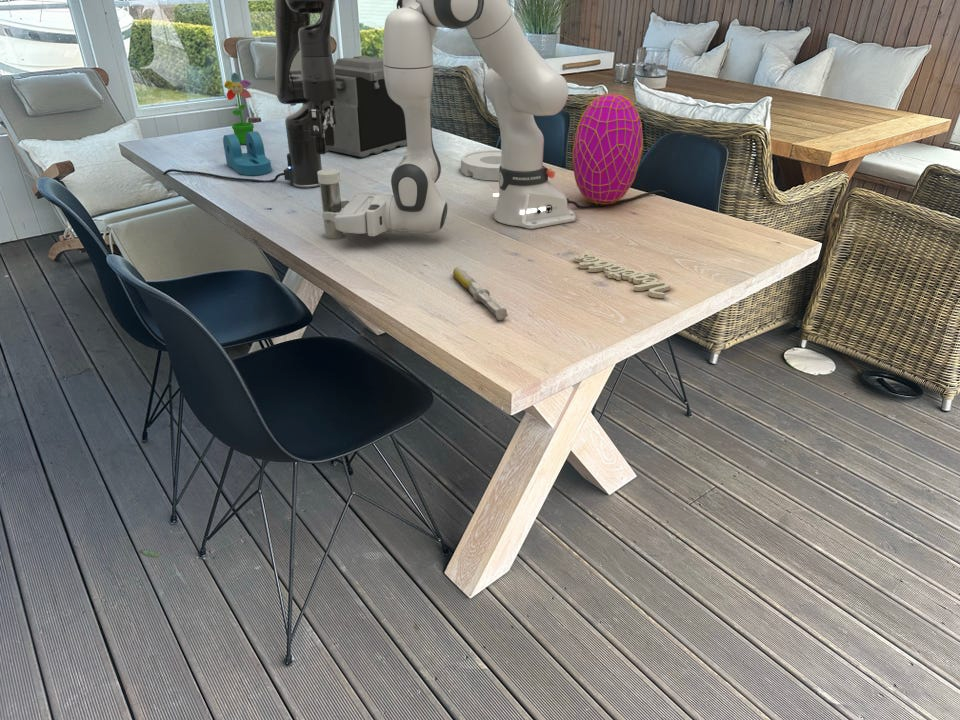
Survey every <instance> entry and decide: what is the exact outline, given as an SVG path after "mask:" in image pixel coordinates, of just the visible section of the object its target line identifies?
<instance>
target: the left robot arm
mask: <svg viewBox="0 0 960 720" xmlns="http://www.w3.org/2000/svg"><path fill="white" fill-rule="evenodd" d="M335 2H336V0H274V30H275V49H276V50H275V70H274V71H275V72H274V89H275V94H276V98H277V100H278V102H279V103H281V104H283V105H298V104H299V105H300V104H302V105H301V107H300V108H299V109H298V110H297V111H296V112H294V113H292V114H290V115H288V116H286V117H285V120H284V123H285V131H286V138H287V146H288V153H287V154H286V161H287V168H284V169H283V172H281V173H278V174H276V175H275V176H274V178H273V179H269V180H267V179H266V180H262V179H255V178H243V177H242V178H241V177H232V176H226V175H220V174H215V173H208V172H202V171H194V170H182V169H176V168H170V169H167V170H164V172H163V173H162V175H163V176H165V175H167V174H168V173H172V172H174V173H175V172H176V173H180V174H181V173H182V174H191V175H192V174H193V175H201V176H208V177H213V178H218V179H224V180H231V181H239V182H252V183H274V182H276V181H277V180H278V179H279V178H280V177H282V176H283V177H284V181H289V184H290V186H294V187H296V188H300V189H301V188H303V189H310V188H317V187H320V183H319V182H318V174H317V172H318V171H320V170H324V169H323V167H322V157H321V155H325V154H327V150H326V145H327V146H334V145H335V137H334V130H333V129H335V125H336V115H335V105H334V99H336V98H337V88H336V78H335V67H334V65H335V61H334V57H333V49H332V48H333V47H332V20H333V14H334V9H335ZM311 14H320V15H319V18H318V20H317V21H315V23H312V24H311ZM298 53H299V54H300V69H291V68H292V64H293V62H294V59H295V58H296V57H297V54H298ZM318 128H319V130H318Z"/></svg>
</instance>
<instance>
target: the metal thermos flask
mask: <svg viewBox="0 0 960 720" xmlns="http://www.w3.org/2000/svg"><path fill="white" fill-rule="evenodd" d="M319 189H320V198H321V207H322V213H323V212H324V211H331V212H332V213H336V212H340V211H341V210H342V209H343V208H341V201H342V199H341V188H340V182H338V183H335V184H321V183H320V186H319ZM323 225H324V234H325V235H324V236H325V237H326V239H332V240H333V239H335V240H336V239H340V238H342V237H345V232H341V231H339V230H337V229H336V226H335V222H333V221H331V220H324V219H323Z"/></svg>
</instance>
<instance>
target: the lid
mask: <svg viewBox="0 0 960 720" xmlns="http://www.w3.org/2000/svg"><path fill="white" fill-rule="evenodd" d="M317 174H318V182H319V183H321V184H335V183H338V182H339V183H340V182H341V175H340V170H338V169H336V168H325V169H323V170H320V171H318V172H317Z"/></svg>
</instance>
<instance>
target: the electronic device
mask: <svg viewBox="0 0 960 720" xmlns="http://www.w3.org/2000/svg"><path fill="white" fill-rule="evenodd" d="M334 67H335V78H336V88H337V98H336V99H334V105H335V115H336V125H335V129H333V130H334V137H335V145H334V146H327V145H326V151H330V152H335V153H340V154H344V155H348V156H353V157H357V158H362V159H363V158H366V157H367V158H368V157H369V155H371V154H375V155H377V154H381V153H382V152H383V151H391V150H395V149H396V148H397V147H405V146H406V147H407V136H406V124H405V115H404V112H403V109H402V108H401V106H400V105H398V104H396V103H395V102H394V101H393V100H392V99H391V98H390V97H389V95H388V93H387V89H386V85H385V80H384V71H383V57H377V56H367V55H356V56H353V57H350V58H349V57H343V58H342V57H341V58H337V59H336V60H335V62H334ZM318 131H319V128H318Z"/></svg>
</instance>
